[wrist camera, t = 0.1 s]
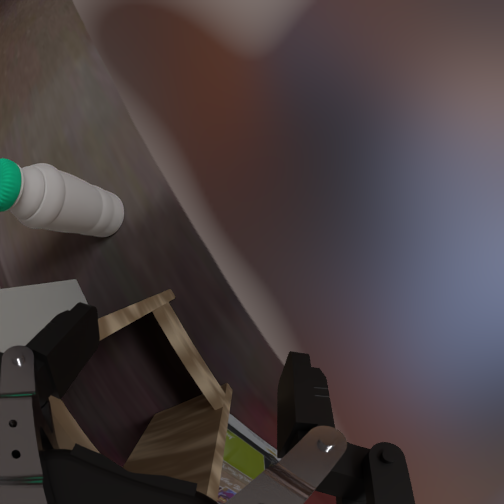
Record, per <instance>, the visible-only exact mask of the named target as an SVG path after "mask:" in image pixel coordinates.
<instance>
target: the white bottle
mask: <svg viewBox="0 0 504 504" xmlns="http://www.w3.org/2000/svg"><path fill="white" fill-rule="evenodd" d="M9 210H10V212H11V213H12V214H13V215H14V216H15V217H16V218H17V219H18V220H19V222H20V223H22V224H23V225H24V226H26V227H28V228H32V229H41V228H42V229H46V230H51V231H57V232H64V233H79V234H82V235H92V236H96V237H108V236H110V235H112V234H114V233H115V232H116V231H117V230H118V229H119V228H120V226H121V224H122V222H123V218H124V207H123V204H122V202H121V200H120V199H119V197H118V196H116V195H115V194H113V193H111V192H109V191H106V190H103V189H102V188H100V187H98V186H95V185H91V184H89V183H88V182H86V181H84V180H82V179H80V178H78V177H76V176H73V175H71V174H69V173H66V172H63V171H60V170H57V169H56V168H55V167H54V166H52V165H49V164H46V163H38V164H34V165H31V166H27V167H23V168H20V166H18V165H17V164H16V163H14V162H13V161H11V160H8V159H4V158H2V159H0V212H1V211H9Z"/></svg>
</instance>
